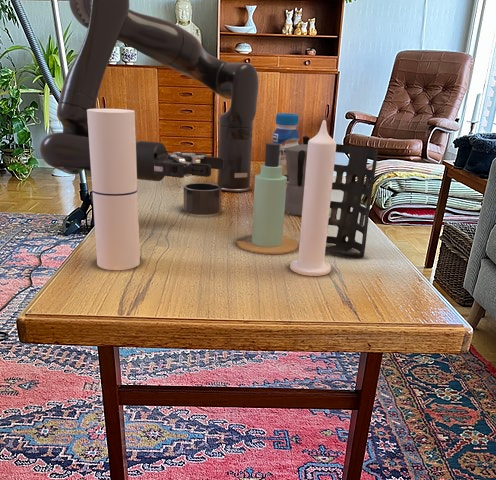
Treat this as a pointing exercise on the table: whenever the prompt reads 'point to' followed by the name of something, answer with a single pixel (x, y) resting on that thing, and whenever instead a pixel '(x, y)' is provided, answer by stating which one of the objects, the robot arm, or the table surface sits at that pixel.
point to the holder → (352, 201)
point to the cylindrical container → (114, 187)
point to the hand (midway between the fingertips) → (217, 167)
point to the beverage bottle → (285, 136)
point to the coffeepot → (296, 177)
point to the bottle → (269, 200)
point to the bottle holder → (202, 198)
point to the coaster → (285, 247)
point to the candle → (316, 205)
